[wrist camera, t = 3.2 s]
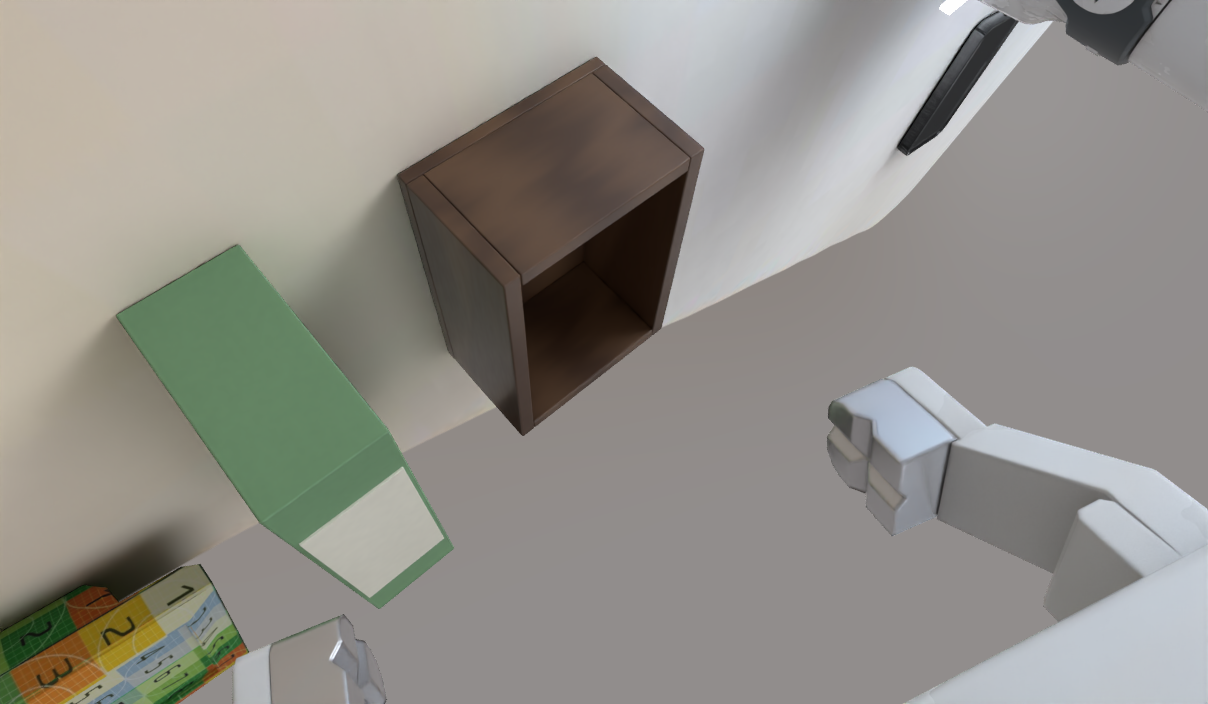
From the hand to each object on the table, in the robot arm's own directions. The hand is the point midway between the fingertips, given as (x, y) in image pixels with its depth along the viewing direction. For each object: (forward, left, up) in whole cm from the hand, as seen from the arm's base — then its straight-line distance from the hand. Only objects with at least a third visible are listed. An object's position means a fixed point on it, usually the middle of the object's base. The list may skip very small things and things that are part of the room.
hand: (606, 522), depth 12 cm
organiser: (-10, +19, -17) cm, 27 cm away
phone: (-64, +41, -17) cm, 78 cm away
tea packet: (+3, +18, -13) cm, 22 cm away
